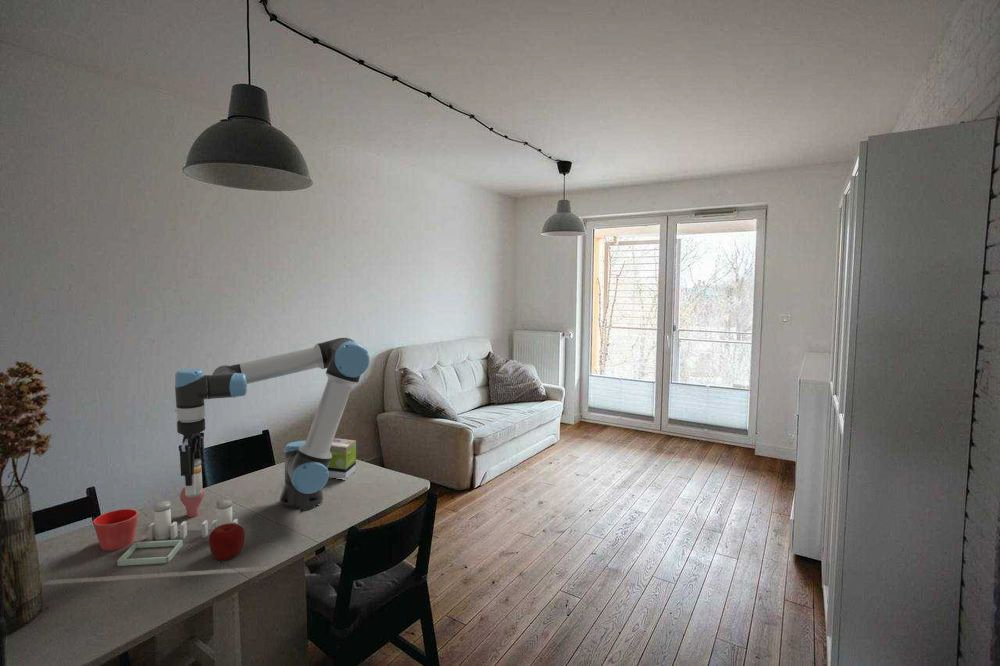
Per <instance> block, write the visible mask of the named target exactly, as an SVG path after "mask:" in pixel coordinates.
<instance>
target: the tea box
mask: <svg viewBox="0 0 1000 666" xmlns="http://www.w3.org/2000/svg"><path fill="white" fill-rule="evenodd" d="M330 453H331V455H332V458H331V461H330V464H329V466H328V471H329V477H330V478H329V479H331V478H346V477H348V476H349V475H350V474H351V473H352V472H353V471H355V470H356V471H357V469H356V468H357V465H356V464H357V440H354V439H347V438H336V437H334V439H333V442H332V445H331V448H330Z"/></svg>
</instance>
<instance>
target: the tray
mask: <svg viewBox="0 0 1000 666" xmlns="http://www.w3.org/2000/svg"><path fill="white" fill-rule="evenodd" d="M182 546H184V543H183V540H168V541H150V542H145V541H135V542H134V543H133V544H132V545H131V546H130V547H129V548H128V549H127V550H126V551H125V552H124V553H123V554H122V555H121V556H120V557H119V558H118V559H117V560H116V564H117V565H116V567H117V566H118V567H119V566H121V567H122V566H137V565H152V564H153V565H157V564H169V563H170V561H172V559H173V558H174V556H175V555H176V554H177V553H178V552H179V550H180V549H181V548H182ZM159 547H160V548H162V547H163V548H165V547H173V549H172V550H171V551H170V552H169V553H168V555H167V556H158V557H156V556H155V557H140V558H139V557H138V558H129V557H130V555H132V554H133V553H134V552H135V550H137V549H142V548H145V549H146V548H159Z"/></svg>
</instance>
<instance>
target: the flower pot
mask: <svg viewBox="0 0 1000 666" xmlns="http://www.w3.org/2000/svg"><path fill="white" fill-rule="evenodd" d="M138 518H139V511H138V510H136V509H133V508H125V509H117V510H112V511H107V512H105V513H103V514H100V515H99V516H97V517H96V518H94V519H93V521H92V523H93V526H94V530H95V533H96V536H97V540H98V543H99V547H100V549H101V550H103V551H116V550H120V549H124V548H126V547H128V546H130V545H131V544H132V543H133V542H134V539H135V536H136V535H135V534H136V529H137V522H138Z"/></svg>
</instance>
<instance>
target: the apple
mask: <svg viewBox="0 0 1000 666" xmlns="http://www.w3.org/2000/svg"><path fill="white" fill-rule="evenodd" d="M245 535H246V532H245V530H244V527H243V526H241V525H240V524H239V523H238V524H235V523H229V524H224V525H221V526H218V527H216V528H215V529H214V530H213V531H212V532H211V534H210V537H209V542H208V546H209V549H210V552H211V554H212V556H213V557H214V558H215V559H216V560H218V561H228V560H232V559H233V558H235V557H237V556H238V555H239V554H240V552H241V551H242V548H243V547H244V544H245V540H246V536H245Z"/></svg>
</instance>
